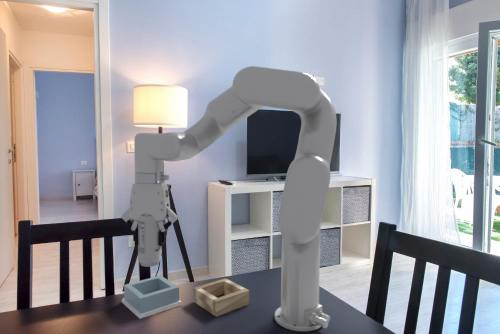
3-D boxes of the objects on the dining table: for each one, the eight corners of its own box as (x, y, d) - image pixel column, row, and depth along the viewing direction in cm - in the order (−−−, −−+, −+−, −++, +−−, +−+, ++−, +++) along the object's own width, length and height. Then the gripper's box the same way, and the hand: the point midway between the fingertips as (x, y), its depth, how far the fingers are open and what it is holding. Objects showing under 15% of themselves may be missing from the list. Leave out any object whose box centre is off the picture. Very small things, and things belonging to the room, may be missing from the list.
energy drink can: (161, 266, 96) (161, 211, 95) (138, 268, 95) (137, 212, 93) (160, 259, 102) (160, 207, 101) (138, 260, 100) (138, 207, 99)
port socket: (181, 304, 98) (181, 287, 98) (139, 318, 91) (139, 299, 90) (161, 290, 108) (161, 274, 107) (121, 302, 100) (121, 284, 99)
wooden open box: (249, 304, 99) (249, 290, 99) (216, 316, 92) (216, 301, 92) (225, 291, 107) (225, 278, 107) (193, 301, 100) (193, 287, 100)
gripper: (184, 178, 99) (184, 241, 101) (124, 176, 101) (125, 239, 102) (176, 181, 92) (176, 250, 93) (111, 179, 93) (113, 247, 95)
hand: (149, 243), depth 98 cm, fingers closed on energy drink can, 6 cm apart
